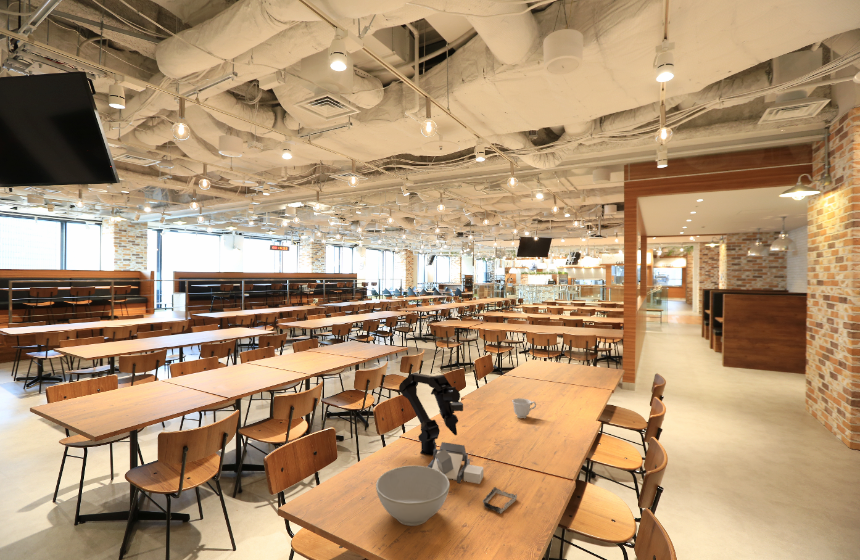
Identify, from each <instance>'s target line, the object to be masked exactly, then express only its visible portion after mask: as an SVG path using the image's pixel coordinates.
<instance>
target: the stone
mask: <svg viewBox="0 0 860 560" xmlns="http://www.w3.org/2000/svg"><path fill="white" fill-rule="evenodd" d="M435 457H436V461H437V465H438V468H439V469H440V470H441V472H442V473H443V474H444V475H445V474H446V473H448V472H449V471H451V470H452V469H453V464H452V460H451V456H450V455H449V454H448V452H447V451H446V450H445V449H444V450H442V451H441V452H439V453H438V454H436V455H435Z"/></svg>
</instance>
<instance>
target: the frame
mask: <svg viewBox="0 0 860 560" xmlns="http://www.w3.org/2000/svg"><path fill="white" fill-rule="evenodd" d="M437 450H438V448H436V449H434V450H433V455H432V456H433V458H432V460H431V461H430V462H429V464H428V465H427V466H426V467H430V468H432V467H433V464H434V461H435V458H436V457H435V455H436V454H437ZM463 463H464V464H463V465H462V466H461V468H460V470H459V474H458V475H457V480H456V483H457V484H461V482H462V481H463V480H464V470H465V469H466V467H467V465H471V464H470V463H471V459H470V458H469V455H468V453H466V454H465V455H464V461H463ZM461 480H462V481H461Z"/></svg>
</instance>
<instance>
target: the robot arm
mask: <svg viewBox="0 0 860 560" xmlns="http://www.w3.org/2000/svg"><path fill="white" fill-rule="evenodd" d="M418 384H424V385H428V386H429V388H432V390H431V392H430V394H431V395H434V397H435V400H436V403H437V406H438V409H439V414H440V416H441V418H442V419H443V422H444V423H443V424H444V425H445V427H446V428H447V429H449V431H450V432H451V433H452V434H453V435H454V436H457V435H458V431H457V424H458V422H459V419H458V416H457V415H456V414H455V412H463V411H464V403H463V402H462V401H460V399H461V393H460V391H459V390H458V389H457V388H456V386H453V385H451V383H450V382H449V380H448V379H447V378H446V376H445V375H444V374H437V375H429V374H424V373H418V372H412V373H409V374H408V375H407V377H406V378H404V380H402V381H401V382H400V383H399V386H398V390H399V392H400V393H401V395H402V396H403V397H404V398H406V399H407V400H408V402H409V403H410V405H411V407H412V410H413V412H414V413H415V416H416V417H417V419H418V420H419V422H420V433H419V435H418V436H417V437H418V441H419V442H421V446H420V448H421V451H420V452H419V454H423V455H428V456H433V450H434V449H437V442H436V440H437V439H438V438H439V435H440V432H441V430H440V425H438V422H437V421H436V419H431V418H430V417H429V415H428V413H427V411H426V410H425V408H424V406H423V404H422V402H421V400H420V398H419V396H418V395H417V394H418V393H417V391H418V390H417V389H418V388H417V385H418Z"/></svg>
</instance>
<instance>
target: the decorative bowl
mask: <svg viewBox="0 0 860 560" xmlns="http://www.w3.org/2000/svg"><path fill="white" fill-rule="evenodd" d="M450 487H451V485H450V479H448V478H447V477H446V475H444V474H443V473H442V472H440V471H438V470H436V469H433V468H430V467H427V466H423V465H405V466H399V467H395V468H393V469H390V470H387V471H386V472H384V473H382V474H381V475H380V476H379V477H378V479H377V481H376V483H375V490H376V493H377V496H378V499H379V502H380V503H381V505H382V507H383V508H384V509H385V510H386V512H387V513H388V514H389V515H390V516H392V517H393V518H394V519H396V521H397V522H399V523H400V524H402V525H405V526H408V527H410V526H411V527H416V526H420V525H423V524H426V522H428V520H429V519H430V518H432V517H434V516H435V515H436V513H437V512H439V510H440V509H441V508H442V506H443V505H444V503H445V501H446V500H447V496H448V494H449V491H450Z"/></svg>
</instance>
